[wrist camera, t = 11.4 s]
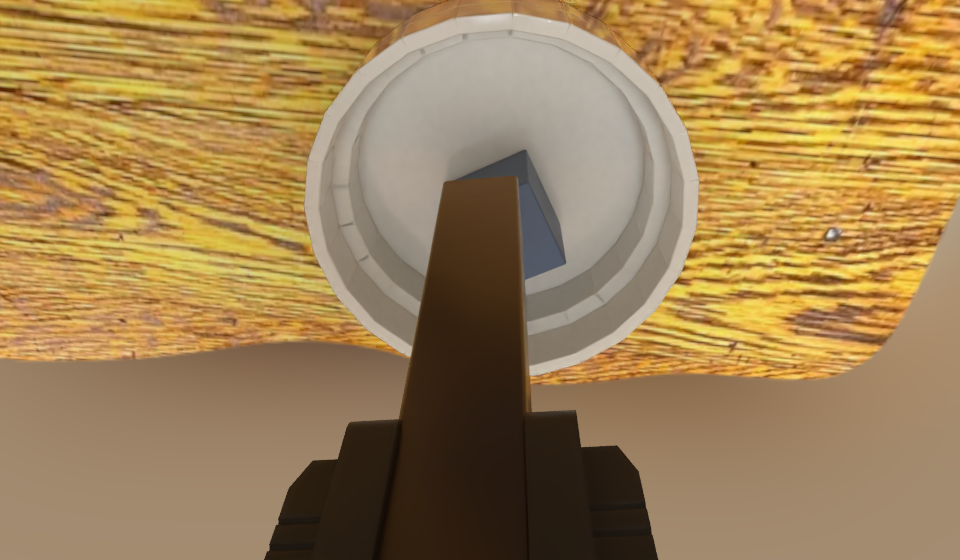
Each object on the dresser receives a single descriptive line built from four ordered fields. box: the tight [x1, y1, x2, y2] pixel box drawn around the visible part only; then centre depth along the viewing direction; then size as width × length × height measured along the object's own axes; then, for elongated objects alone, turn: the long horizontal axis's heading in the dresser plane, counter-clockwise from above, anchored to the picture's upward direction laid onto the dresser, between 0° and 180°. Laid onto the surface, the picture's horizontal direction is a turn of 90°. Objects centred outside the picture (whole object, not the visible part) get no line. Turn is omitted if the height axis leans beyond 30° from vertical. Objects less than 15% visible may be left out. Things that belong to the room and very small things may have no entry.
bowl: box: [304, 0, 699, 376], centre depth 32 cm, size 15×15×6 cm
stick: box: [377, 176, 532, 560], centre depth 13 cm, size 2×2×14 cm
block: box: [454, 150, 566, 280], centre depth 33 cm, size 4×4×4 cm
